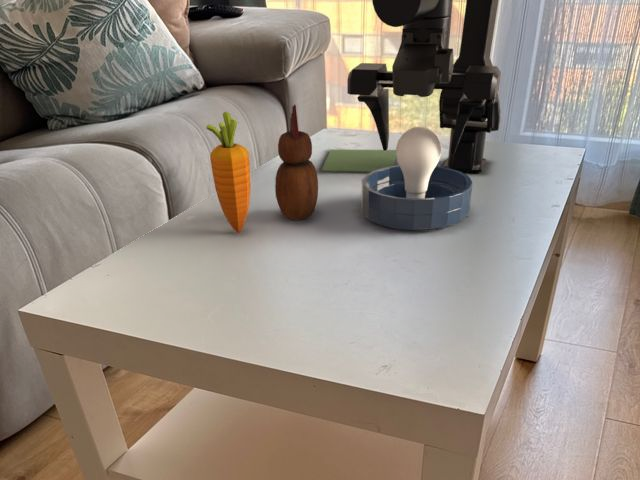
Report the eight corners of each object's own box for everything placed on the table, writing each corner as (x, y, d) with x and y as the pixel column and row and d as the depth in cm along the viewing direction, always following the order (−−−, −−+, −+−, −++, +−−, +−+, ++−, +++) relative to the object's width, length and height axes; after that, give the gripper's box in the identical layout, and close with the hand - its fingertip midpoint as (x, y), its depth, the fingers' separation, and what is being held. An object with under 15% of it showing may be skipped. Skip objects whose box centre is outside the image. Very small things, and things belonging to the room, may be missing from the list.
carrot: (241, 242, 85) (228, 121, 75) (212, 235, 87) (196, 116, 77) (263, 229, 88) (253, 111, 78) (235, 223, 90) (221, 108, 81)
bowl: (375, 191, 99) (376, 161, 96) (474, 199, 95) (478, 168, 92) (349, 227, 88) (349, 194, 85) (459, 237, 84) (463, 203, 81)
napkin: (330, 151, 116) (330, 149, 116) (396, 152, 115) (396, 150, 115) (321, 171, 107) (321, 170, 107) (392, 172, 106) (392, 171, 105)
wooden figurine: (313, 225, 89) (308, 108, 79) (273, 223, 90) (264, 107, 80) (322, 208, 94) (319, 96, 84) (284, 206, 95) (278, 95, 85)
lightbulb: (443, 206, 92) (450, 124, 85) (425, 220, 88) (431, 135, 81) (405, 199, 94) (409, 119, 87) (385, 212, 90) (388, 129, 83)
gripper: (334, 24, 73) (335, 165, 83) (500, 25, 68) (481, 175, 78) (359, 12, 81) (358, 141, 91) (509, 13, 76) (491, 149, 86)
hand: (418, 151), depth 86 cm, fingers open, 9 cm apart
